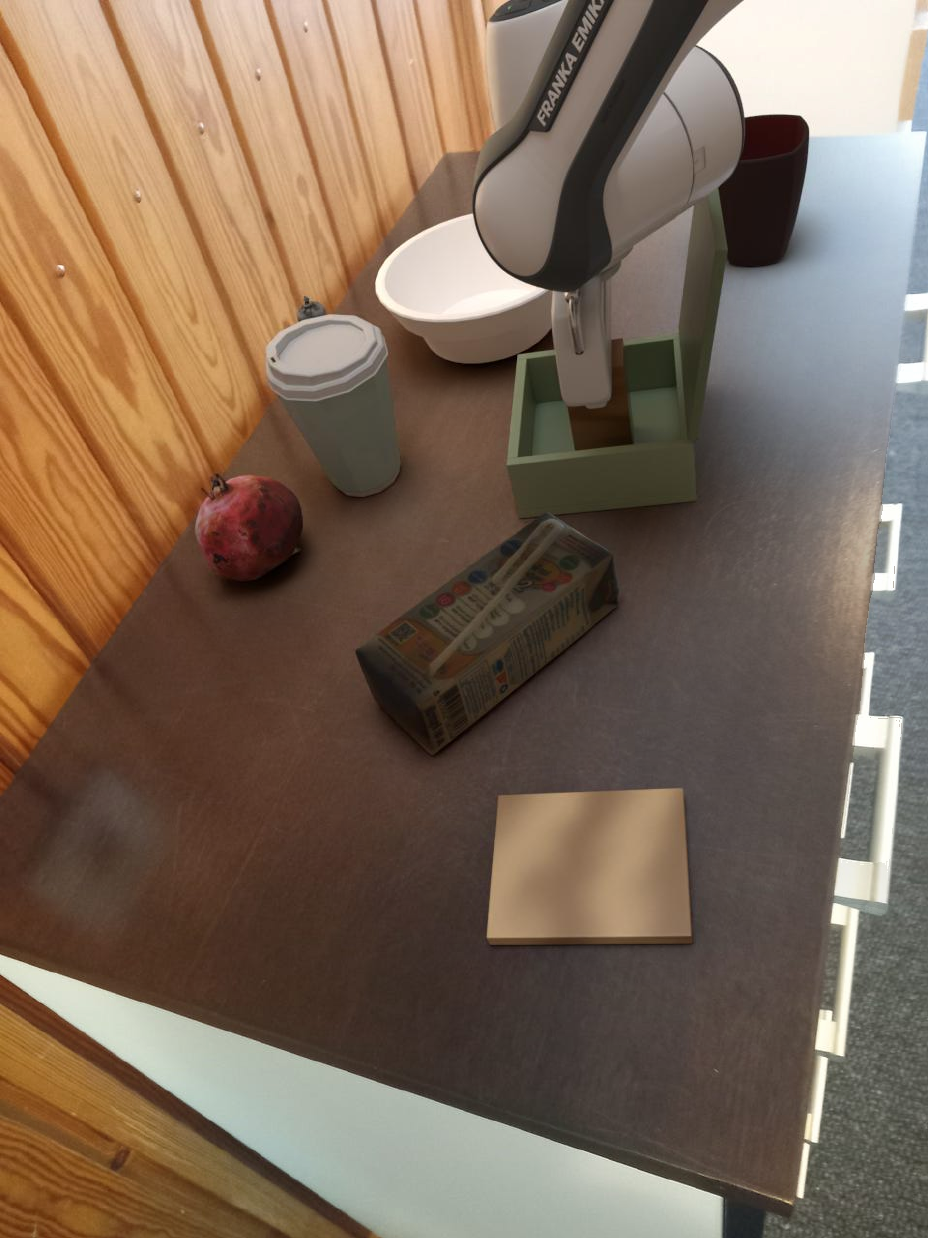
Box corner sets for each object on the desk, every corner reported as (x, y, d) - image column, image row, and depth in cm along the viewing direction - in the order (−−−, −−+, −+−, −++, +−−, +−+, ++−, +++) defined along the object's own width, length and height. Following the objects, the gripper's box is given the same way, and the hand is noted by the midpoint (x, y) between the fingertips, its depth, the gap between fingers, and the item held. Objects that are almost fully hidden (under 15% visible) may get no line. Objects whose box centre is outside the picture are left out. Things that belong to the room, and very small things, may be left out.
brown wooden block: (633, 424, 91) (623, 337, 85) (634, 453, 89) (623, 365, 82) (577, 431, 92) (562, 345, 86) (576, 460, 90) (561, 373, 83)
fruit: (337, 549, 90) (300, 460, 83) (251, 614, 87) (205, 527, 80) (279, 510, 96) (239, 423, 88) (196, 570, 92) (148, 485, 85)
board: (684, 796, 66) (683, 787, 65) (692, 944, 59) (691, 936, 59) (500, 803, 69) (497, 794, 68) (489, 945, 62) (486, 938, 61)
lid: (715, 249, 68) (728, 249, 68) (701, 145, 79) (711, 145, 79) (687, 439, 80) (698, 439, 80) (678, 327, 90) (687, 327, 90)
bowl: (516, 257, 118) (502, 188, 112) (634, 320, 104) (626, 244, 98) (361, 341, 113) (338, 273, 107) (463, 419, 99) (444, 345, 93)
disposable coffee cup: (398, 426, 101) (354, 288, 90) (443, 482, 93) (400, 339, 82) (300, 472, 99) (242, 337, 88) (337, 532, 92) (279, 393, 81)
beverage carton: (627, 607, 78) (618, 545, 73) (434, 765, 72) (410, 708, 67) (556, 561, 83) (542, 500, 78) (369, 705, 77) (343, 648, 72)
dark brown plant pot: (701, 279, 106) (695, 165, 98) (718, 212, 115) (714, 102, 106) (802, 275, 103) (805, 156, 94) (812, 206, 112) (815, 91, 103)
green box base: (519, 518, 88) (506, 465, 83) (528, 406, 98) (517, 354, 94) (697, 501, 84) (693, 444, 80) (687, 387, 95) (683, 331, 91)
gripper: (617, 296, 69) (637, 458, 78) (616, 160, 82) (633, 312, 92) (524, 309, 70) (555, 467, 80) (537, 173, 84) (562, 322, 94)
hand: (596, 383), depth 86 cm, fingers closed on brown wooden block, 4 cm apart
